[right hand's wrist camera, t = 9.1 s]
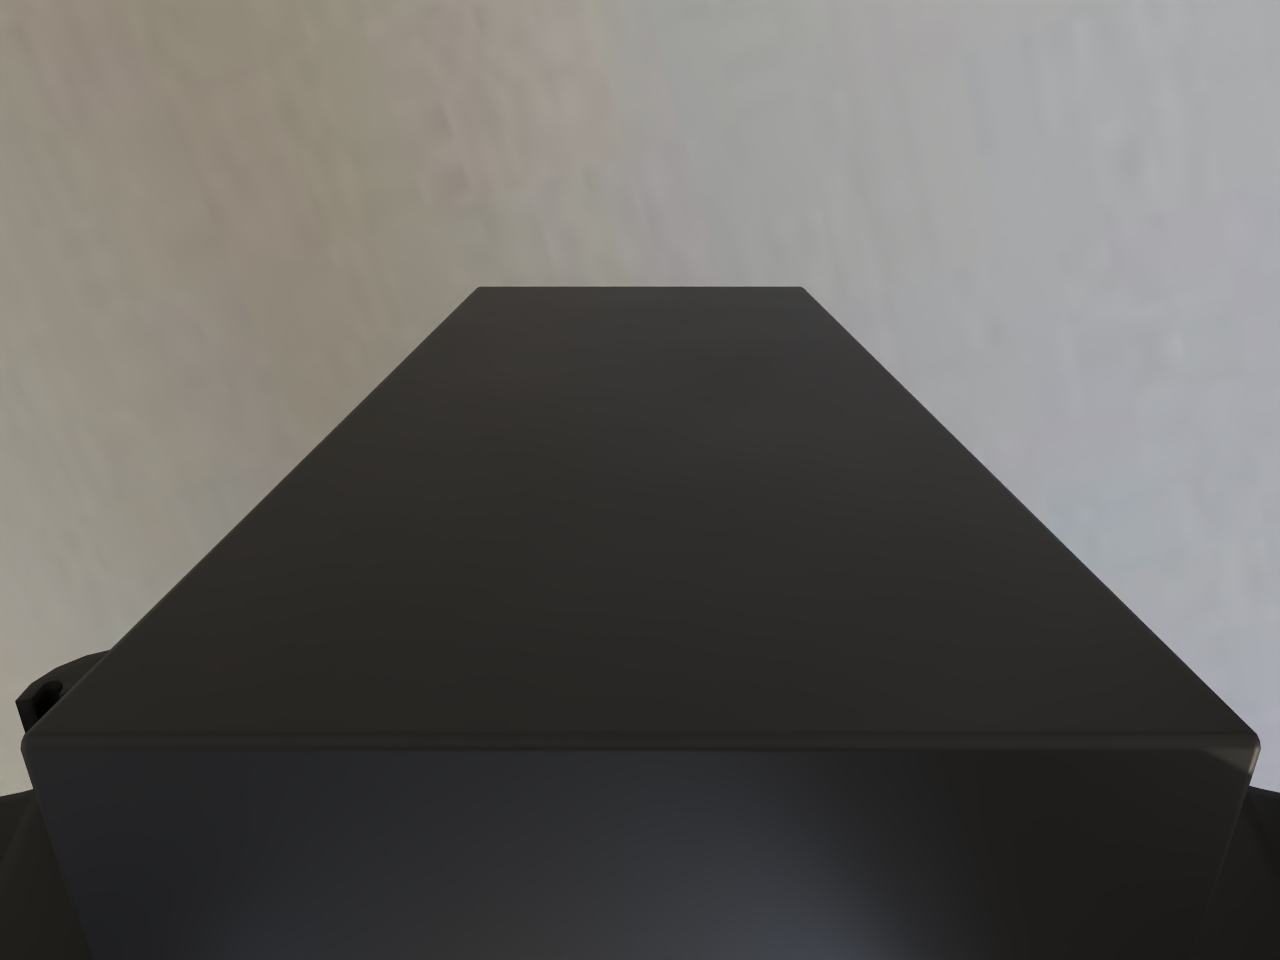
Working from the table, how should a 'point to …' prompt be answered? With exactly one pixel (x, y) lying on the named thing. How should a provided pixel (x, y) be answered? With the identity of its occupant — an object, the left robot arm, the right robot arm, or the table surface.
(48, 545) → the table surface
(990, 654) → the box
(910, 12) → the table surface
